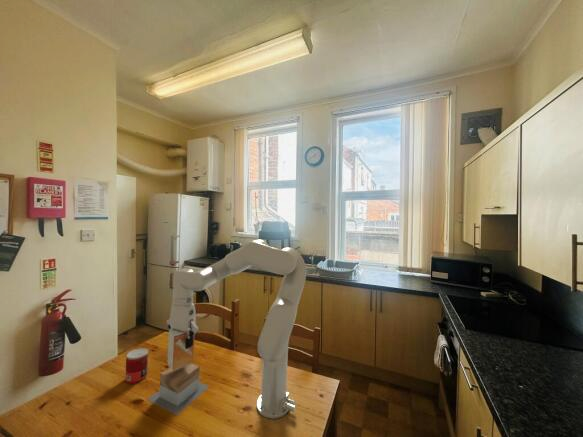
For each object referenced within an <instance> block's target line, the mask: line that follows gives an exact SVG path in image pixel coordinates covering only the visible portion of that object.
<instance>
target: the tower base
mask: <svg viewBox="0 0 583 437" xmlns="http://www.w3.org/2000/svg"><path fill="white" fill-rule="evenodd" d="M199 382H200V377H199V378H198V379H197V380H196V381H194V382H193V383H192V384H190V385H189V386H188V387H186V388H185V389H184V390H183V391H181V392H180V393H179V394H177V393H175V392H173V391H171V390H169V389H167V388H165V387H163V386H161V385H160V384H159V391H160V397H161V398H163V399H165V400H167V401H169V402H170V403H172V404H174V405H176V406H178V405H180V404H181V403H182V402H183V401H185V400H186V399H187V398H188V397H189V396H191V395H192V394H193V393H194V392H196V391H197V390H198V389H199Z"/></svg>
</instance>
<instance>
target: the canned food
mask: <svg viewBox="0 0 583 437" xmlns="http://www.w3.org/2000/svg"><path fill="white" fill-rule="evenodd" d="M125 358H126V359H125V380H124V381H125V382H126V384H128V385H135V384H139V383H140V382H142V381H143V380H145V379H146V378H147V376H148V363H149V350H148V349H147V348H144V347H143V348H141V347H140V348H136V349H133V350H131V351H129V352H127V353H126V356H125Z"/></svg>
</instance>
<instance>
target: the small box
mask: <svg viewBox="0 0 583 437" xmlns="http://www.w3.org/2000/svg"><path fill="white" fill-rule="evenodd" d="M188 329H189V328H188ZM188 332H189V334H190V333H191V332H190V331H188ZM195 335H196V334H195ZM195 335H194V336H193V346H191V347H189V348H188V349H186V348H185V342H186V338H187V336H186V334H185V332H183V331H180V330H177V329H173V330H170V331H169V330H168V344H167V364H168V367H169V368H170V367H171V369H172V370H174V369H177V368H180V367H182V366H185V365H187V364H190V363H191V364H194V358H195V356H194V354H195V338H196V336H195Z"/></svg>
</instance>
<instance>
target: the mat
mask: <svg viewBox="0 0 583 437" xmlns="http://www.w3.org/2000/svg"><path fill="white" fill-rule="evenodd" d="M209 388H210V386H209V385H207V384H204V383H202V382H200V381H199V389H198V390H197V391H196V392H194V393H193V394H192V395H191V396H189V397H188V398H187V399H186V400H185V401H183V402H182V403H181V404H180V405H178V406H176V405H174V404H172V403H170V402H169V401H167V400H165V399H163V398H161V397H160V390H158V391H157V392H155V393H154V394H153V395H151V396H150V397H148V398H147V399H146V400H147V401H148V402H150V403H153V404H154V405H156V406H158V407H160V408H162V409H163V410H165V411H168V412H170V414H173V415H175V416H177V415H178V414H180V413H181V412H182V411H183V410H185V409H186V408H187V407H188V406H189V405H190V404H192V402H194V401H195V400H196V399H197V398H199V396H201V395H202V394H203V393H204V392H206V390H208V389H209Z"/></svg>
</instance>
